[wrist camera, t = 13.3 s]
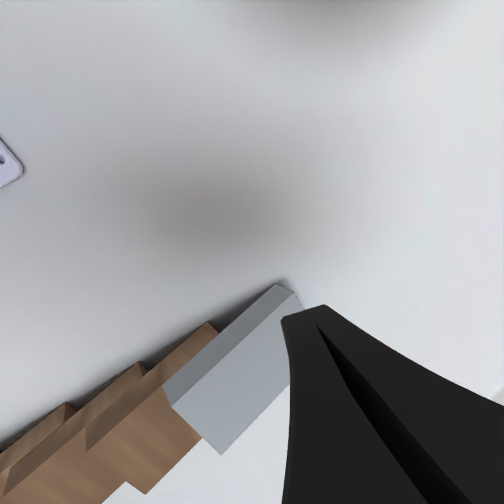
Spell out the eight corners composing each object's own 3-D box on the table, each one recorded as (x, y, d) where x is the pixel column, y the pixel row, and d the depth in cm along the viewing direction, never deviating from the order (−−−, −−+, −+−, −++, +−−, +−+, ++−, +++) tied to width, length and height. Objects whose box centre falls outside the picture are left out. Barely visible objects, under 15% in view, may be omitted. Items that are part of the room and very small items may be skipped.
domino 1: (114, 440, 23) (-3, 542, 21) (65, 402, 21) (-71, 511, 19) (116, 460, 22) (-11, 575, 19) (63, 421, 19) (-87, 545, 17)
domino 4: (305, 334, 22) (208, 432, 20) (275, 283, 20) (161, 385, 18) (324, 346, 21) (221, 455, 18) (294, 292, 19) (171, 406, 16)
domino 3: (243, 367, 23) (139, 468, 20) (207, 321, 21) (84, 427, 18) (257, 382, 21) (145, 494, 18) (219, 333, 19) (86, 452, 16)
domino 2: (181, 403, 23) (71, 503, 21) (137, 361, 21) (9, 468, 18) (188, 421, 21) (70, 533, 19) (142, 378, 19) (2, 498, 17)
